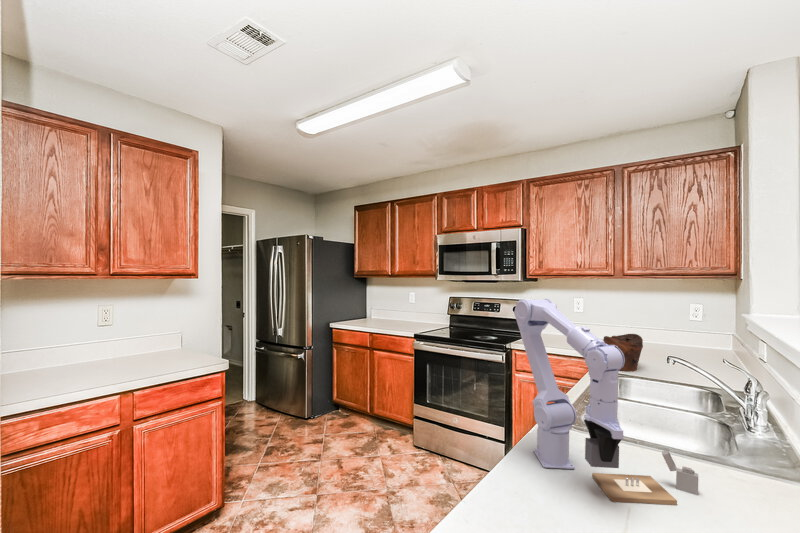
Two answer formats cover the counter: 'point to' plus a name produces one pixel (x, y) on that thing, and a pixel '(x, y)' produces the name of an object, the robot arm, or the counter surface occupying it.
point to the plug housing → (594, 455)
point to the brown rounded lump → (627, 349)
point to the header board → (633, 489)
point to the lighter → (682, 475)
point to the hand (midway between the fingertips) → (602, 456)
